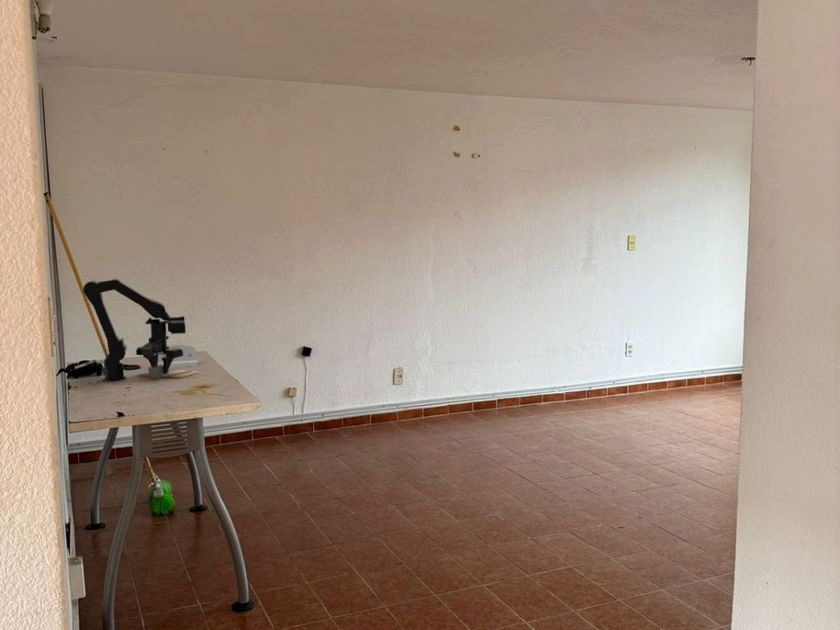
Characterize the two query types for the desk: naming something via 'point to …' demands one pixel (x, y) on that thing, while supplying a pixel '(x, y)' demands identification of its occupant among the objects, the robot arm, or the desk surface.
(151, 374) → the plug
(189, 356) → the hinge
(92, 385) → the desk surface
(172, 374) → the coaster
